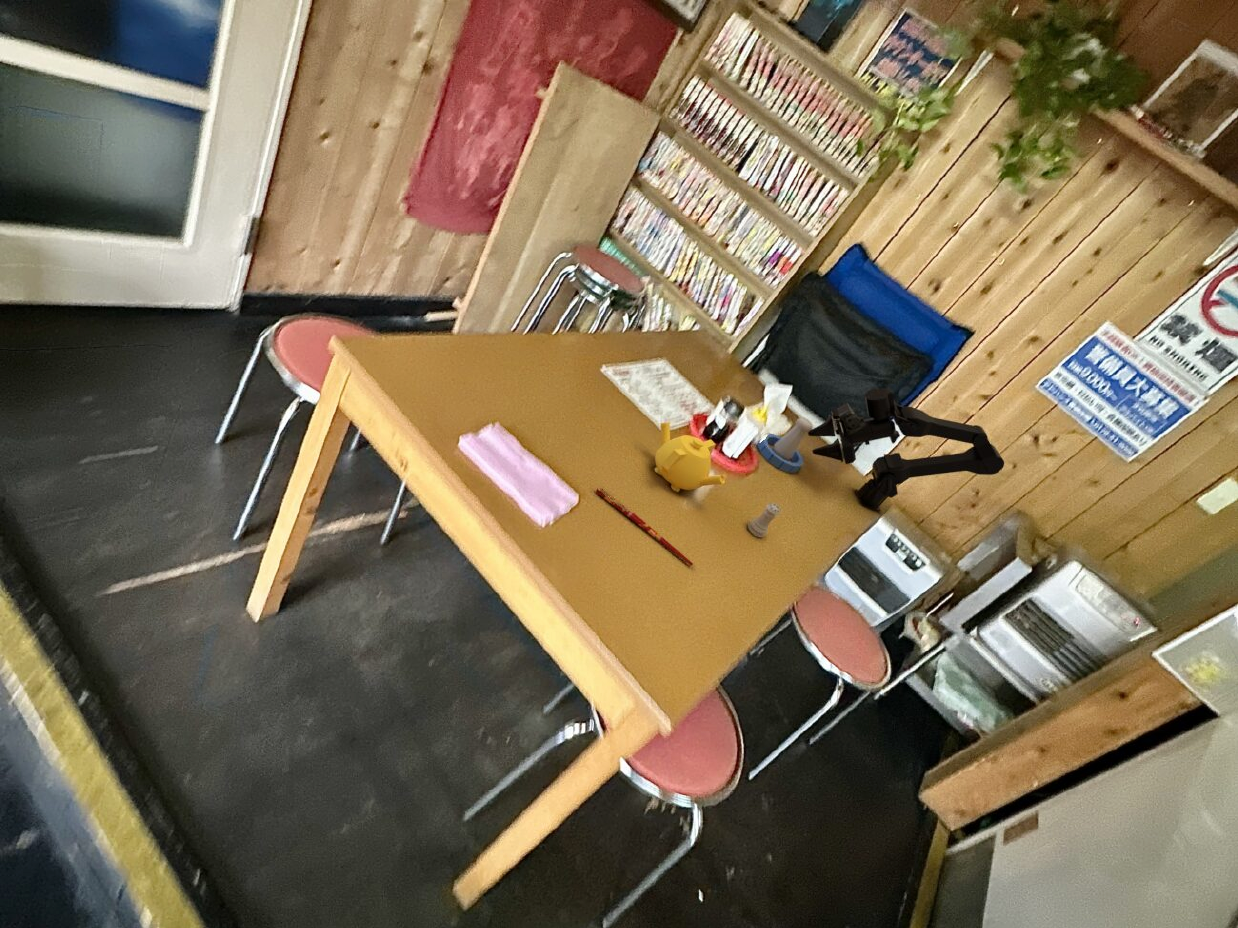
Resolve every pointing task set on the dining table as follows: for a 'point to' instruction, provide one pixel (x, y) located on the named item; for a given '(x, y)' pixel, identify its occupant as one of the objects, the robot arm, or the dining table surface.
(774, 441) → the tape roll
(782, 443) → the salt shaker
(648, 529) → the chopstick
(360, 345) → the dining table surface
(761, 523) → the rook chess piece
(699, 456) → the teapot
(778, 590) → the dining table surface
